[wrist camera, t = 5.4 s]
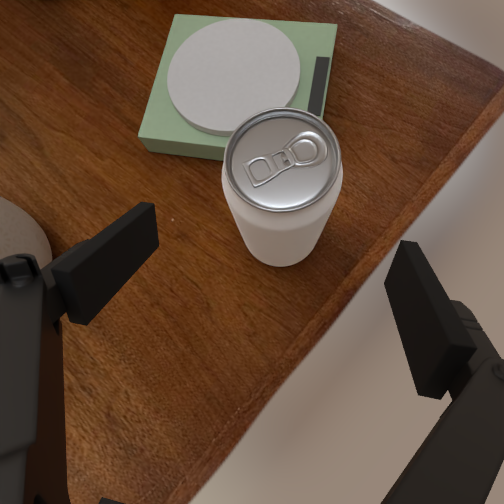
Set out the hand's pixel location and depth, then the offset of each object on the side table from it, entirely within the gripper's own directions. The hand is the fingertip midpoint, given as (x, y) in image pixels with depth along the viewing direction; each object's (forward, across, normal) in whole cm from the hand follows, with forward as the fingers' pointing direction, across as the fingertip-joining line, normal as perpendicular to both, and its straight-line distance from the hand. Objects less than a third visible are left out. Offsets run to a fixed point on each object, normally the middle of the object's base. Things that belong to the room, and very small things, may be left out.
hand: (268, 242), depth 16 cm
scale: (+18, -6, +5) cm, 20 cm away
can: (+9, 0, -4) cm, 10 cm away
